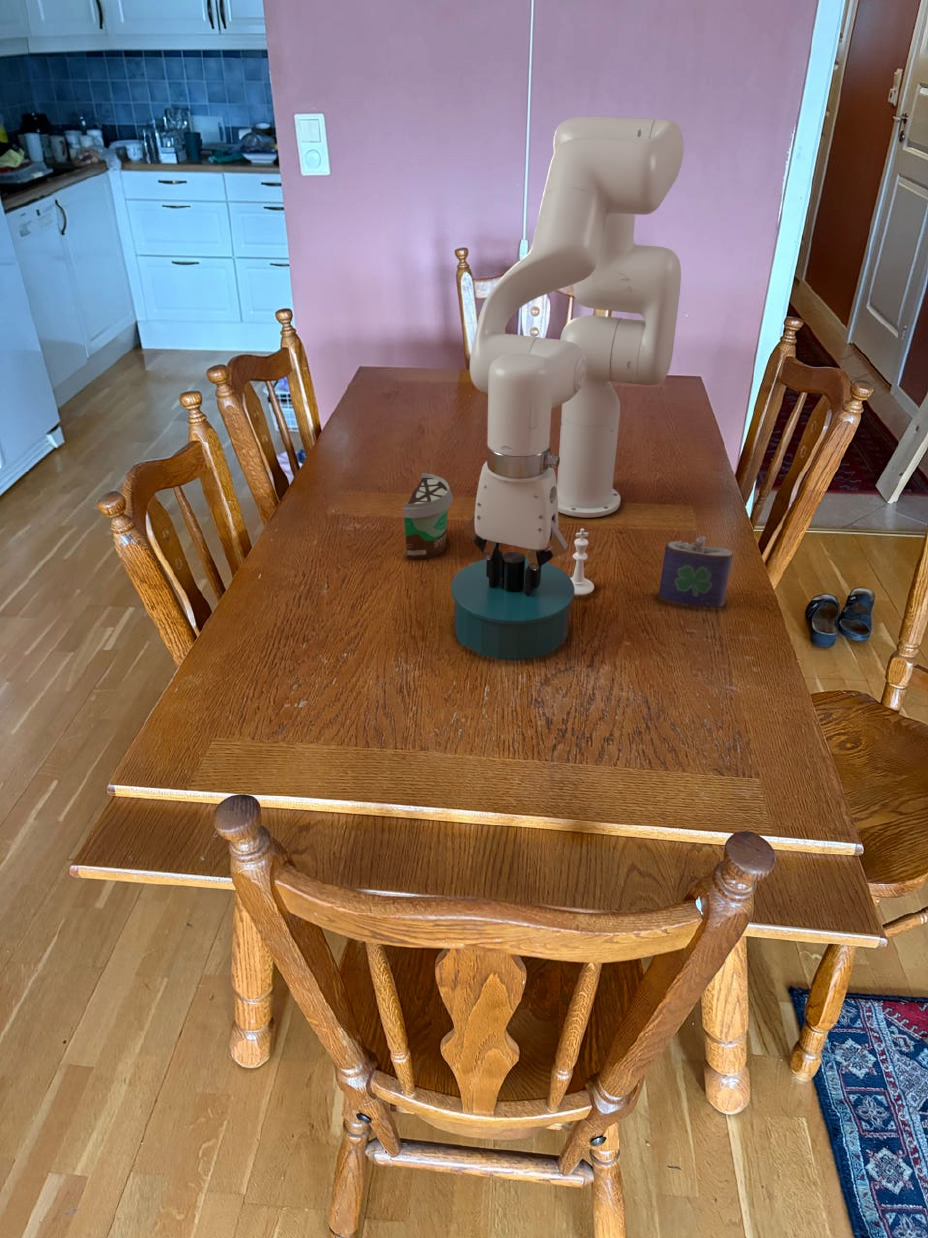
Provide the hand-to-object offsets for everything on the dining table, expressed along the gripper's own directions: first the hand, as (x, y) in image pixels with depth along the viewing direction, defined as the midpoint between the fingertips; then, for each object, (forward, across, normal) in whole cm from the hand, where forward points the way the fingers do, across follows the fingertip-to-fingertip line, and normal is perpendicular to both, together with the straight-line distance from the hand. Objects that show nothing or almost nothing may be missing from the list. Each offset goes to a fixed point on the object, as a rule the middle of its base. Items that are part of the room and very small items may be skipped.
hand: (513, 585), depth 122 cm
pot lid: (+1, 0, 0) cm, 1 cm away
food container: (+7, +20, -17) cm, 27 cm away
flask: (+7, -21, -17) cm, 28 cm away
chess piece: (+7, -5, -14) cm, 17 cm away
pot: (+7, 0, 0) cm, 7 cm away
